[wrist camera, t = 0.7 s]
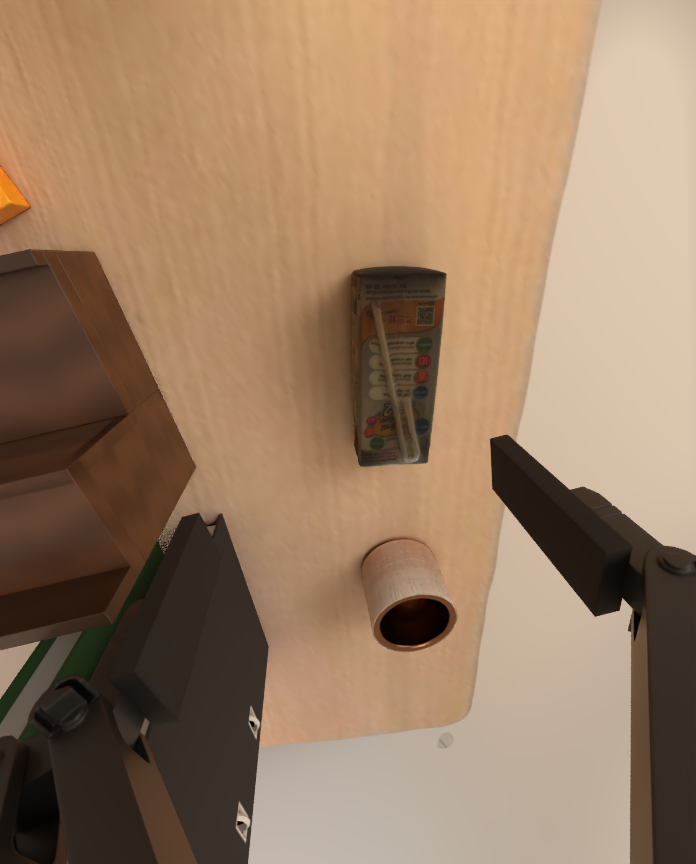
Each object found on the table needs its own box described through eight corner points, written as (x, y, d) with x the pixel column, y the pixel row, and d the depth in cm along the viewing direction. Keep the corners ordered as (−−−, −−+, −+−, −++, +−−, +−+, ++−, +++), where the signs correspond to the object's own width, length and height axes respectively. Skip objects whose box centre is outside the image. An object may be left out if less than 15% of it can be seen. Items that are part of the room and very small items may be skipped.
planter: (446, 547, 51) (475, 604, 43) (411, 597, 55) (430, 659, 47) (381, 527, 49) (397, 585, 40) (348, 582, 52) (356, 645, 44)
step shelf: (-84, 292, 31) (-610, 335, 13) (94, 251, 31) (-190, 240, 13) (62, 498, 41) (-123, 679, 24) (196, 467, 42) (113, 624, 24)
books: (112, 528, 44) (-247, 1030, 15) (233, 512, 45) (106, 957, 16) (178, 661, 56) (46, 1080, 27) (272, 645, 57) (239, 1036, 28)
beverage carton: (350, 444, 42) (357, 473, 36) (347, 267, 34) (356, 268, 28) (415, 439, 43) (433, 468, 37) (428, 265, 35) (453, 265, 29)
